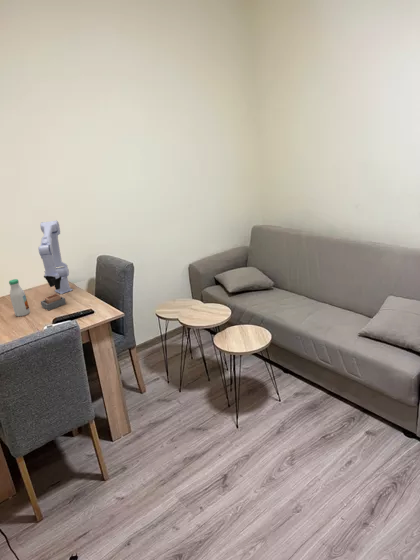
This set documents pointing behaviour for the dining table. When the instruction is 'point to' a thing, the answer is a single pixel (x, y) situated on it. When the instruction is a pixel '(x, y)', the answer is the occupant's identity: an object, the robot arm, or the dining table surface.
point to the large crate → (53, 304)
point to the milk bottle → (18, 299)
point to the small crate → (52, 298)
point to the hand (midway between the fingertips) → (55, 287)
